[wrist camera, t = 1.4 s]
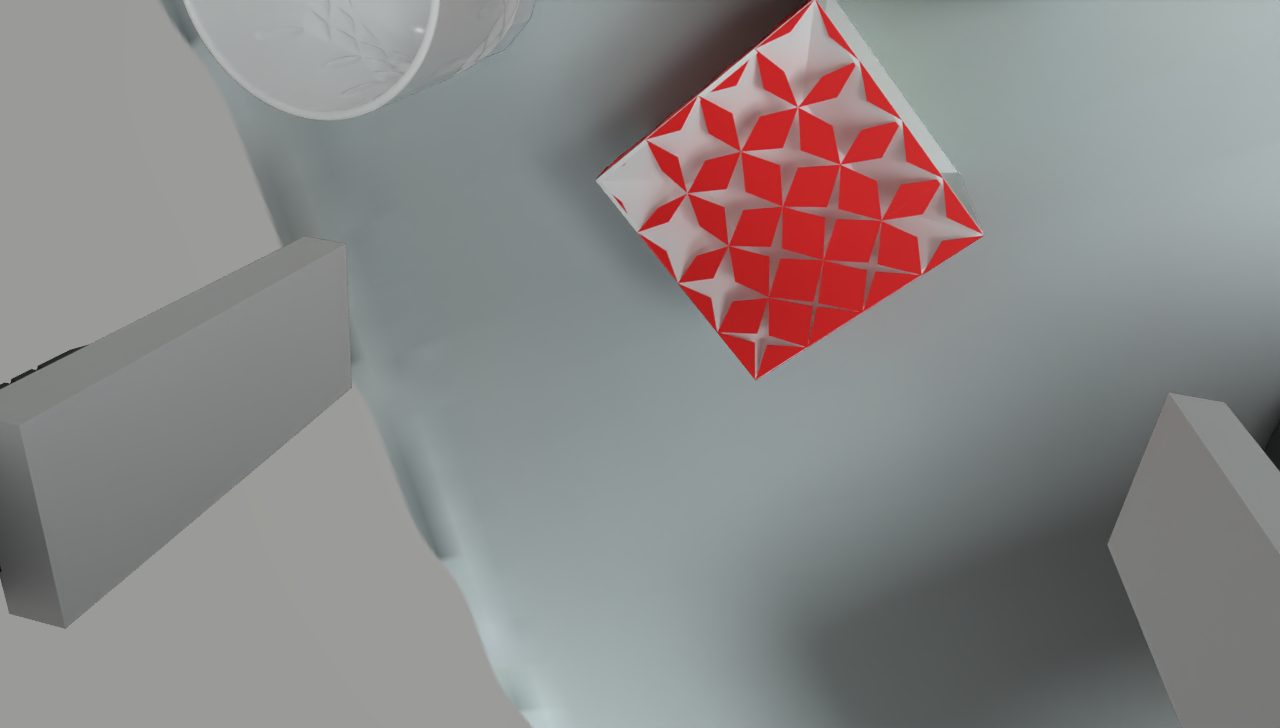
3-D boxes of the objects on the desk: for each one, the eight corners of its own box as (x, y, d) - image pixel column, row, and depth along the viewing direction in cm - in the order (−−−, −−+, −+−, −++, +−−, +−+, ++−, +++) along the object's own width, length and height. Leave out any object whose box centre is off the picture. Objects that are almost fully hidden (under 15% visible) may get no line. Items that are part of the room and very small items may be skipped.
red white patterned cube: (959, 174, 32) (985, 236, 25) (779, 296, 35) (756, 381, 28) (826, -14, 30) (812, -6, 23) (650, 131, 34) (593, 178, 27)
